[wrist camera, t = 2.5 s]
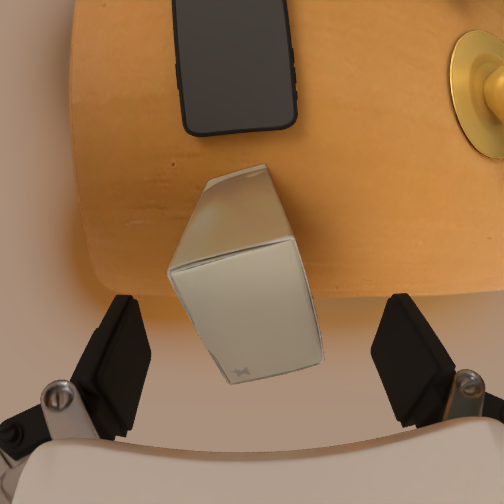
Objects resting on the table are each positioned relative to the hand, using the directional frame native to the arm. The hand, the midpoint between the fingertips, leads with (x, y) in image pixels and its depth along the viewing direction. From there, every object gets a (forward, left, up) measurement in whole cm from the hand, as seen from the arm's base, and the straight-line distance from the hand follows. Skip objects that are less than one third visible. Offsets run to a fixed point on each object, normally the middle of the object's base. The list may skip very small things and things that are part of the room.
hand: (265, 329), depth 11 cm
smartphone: (-7, +11, -12) cm, 18 cm away
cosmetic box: (0, 0, -12) cm, 12 cm away
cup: (+14, +20, -12) cm, 27 cm away
